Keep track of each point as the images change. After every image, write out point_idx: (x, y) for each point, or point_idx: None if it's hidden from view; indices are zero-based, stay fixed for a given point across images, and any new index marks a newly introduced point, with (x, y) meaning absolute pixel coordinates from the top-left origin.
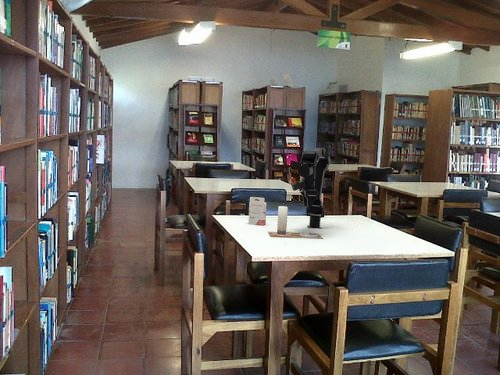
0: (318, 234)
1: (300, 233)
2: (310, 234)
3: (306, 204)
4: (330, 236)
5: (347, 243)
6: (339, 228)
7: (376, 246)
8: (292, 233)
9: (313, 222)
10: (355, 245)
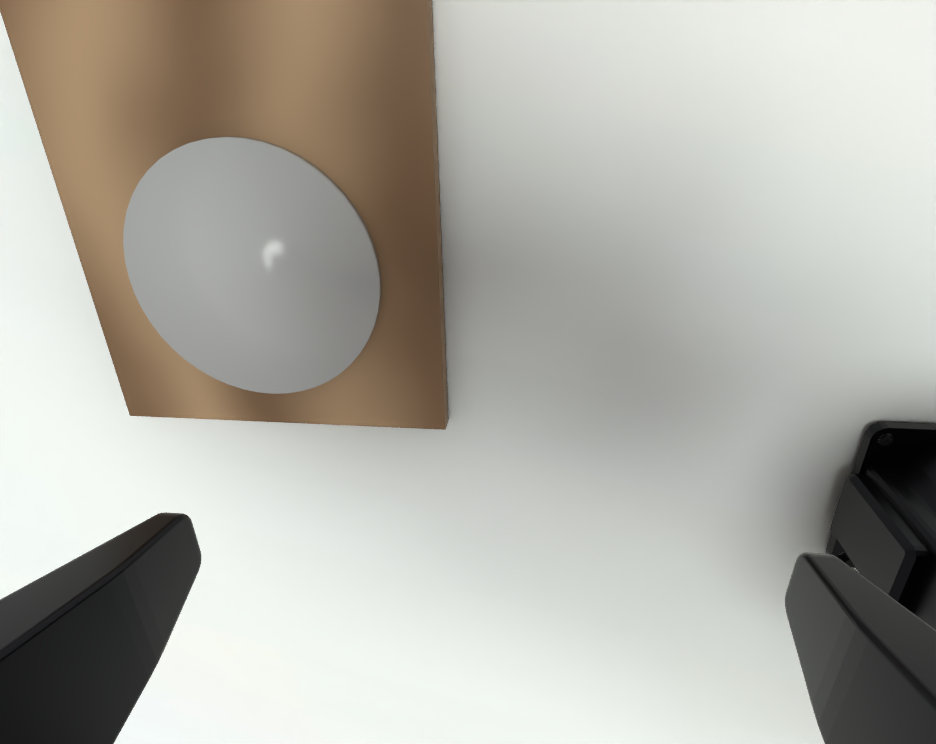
0: (369, 420)
1: (307, 175)
2: (280, 311)
3: (808, 658)
4: (394, 528)
5: None
6: None
7: None
8: (342, 40)
9: (909, 522)
10: None
